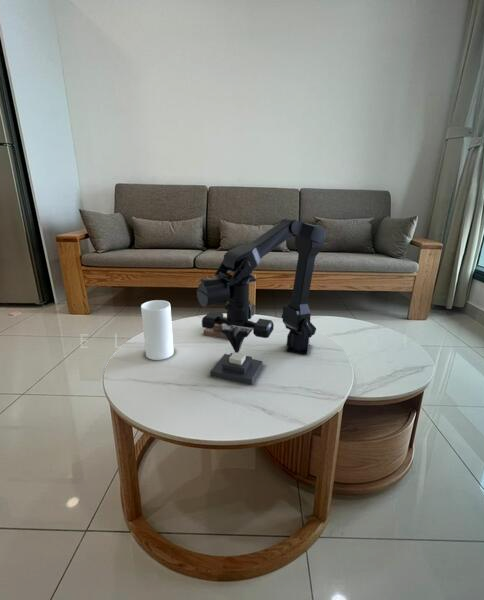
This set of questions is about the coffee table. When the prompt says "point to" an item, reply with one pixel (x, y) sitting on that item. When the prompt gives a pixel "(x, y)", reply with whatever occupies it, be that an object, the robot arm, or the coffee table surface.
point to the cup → (157, 329)
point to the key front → (237, 358)
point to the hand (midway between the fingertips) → (237, 351)
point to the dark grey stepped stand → (237, 370)
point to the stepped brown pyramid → (216, 331)
